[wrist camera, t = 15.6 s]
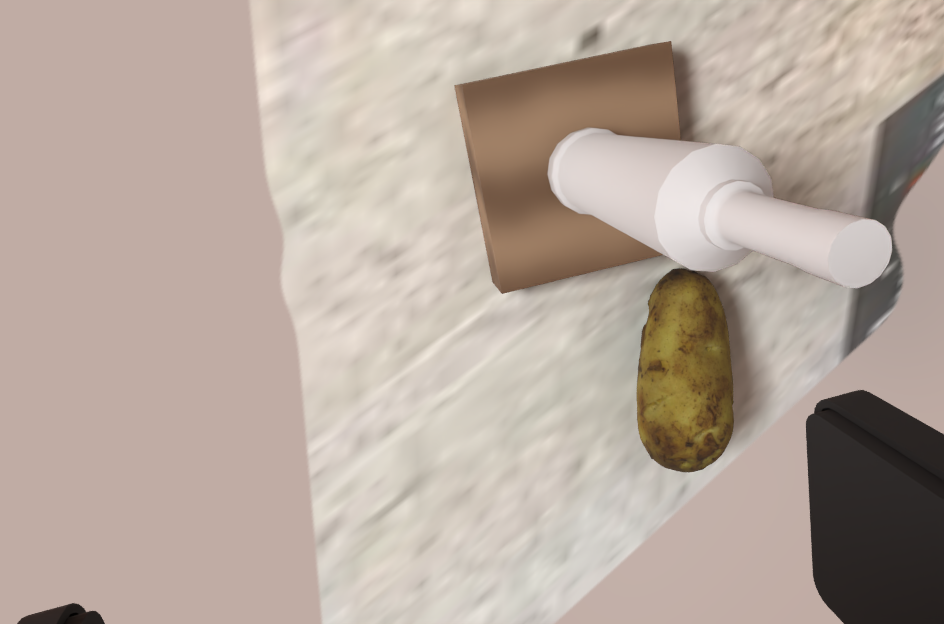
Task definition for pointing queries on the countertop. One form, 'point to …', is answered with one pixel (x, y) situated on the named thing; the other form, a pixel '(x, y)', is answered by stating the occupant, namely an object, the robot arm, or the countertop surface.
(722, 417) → the potato
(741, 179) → the bottle
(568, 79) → the walnut plinth
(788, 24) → the countertop surface
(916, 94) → the countertop surface
